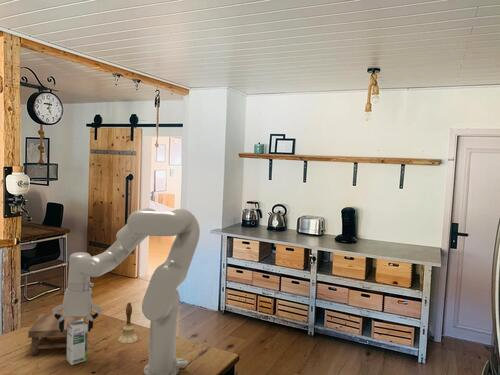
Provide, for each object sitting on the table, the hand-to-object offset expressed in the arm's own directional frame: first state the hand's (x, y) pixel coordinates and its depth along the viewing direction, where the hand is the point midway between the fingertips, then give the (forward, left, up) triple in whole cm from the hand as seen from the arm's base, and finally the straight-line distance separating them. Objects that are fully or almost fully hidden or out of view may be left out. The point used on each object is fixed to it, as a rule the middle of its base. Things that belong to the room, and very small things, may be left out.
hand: (75, 330), depth 149 cm
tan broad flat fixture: (+8, -14, -11) cm, 20 cm away
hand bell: (-19, -16, -12) cm, 27 cm away
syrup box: (-1, 0, -12) cm, 12 cm away
